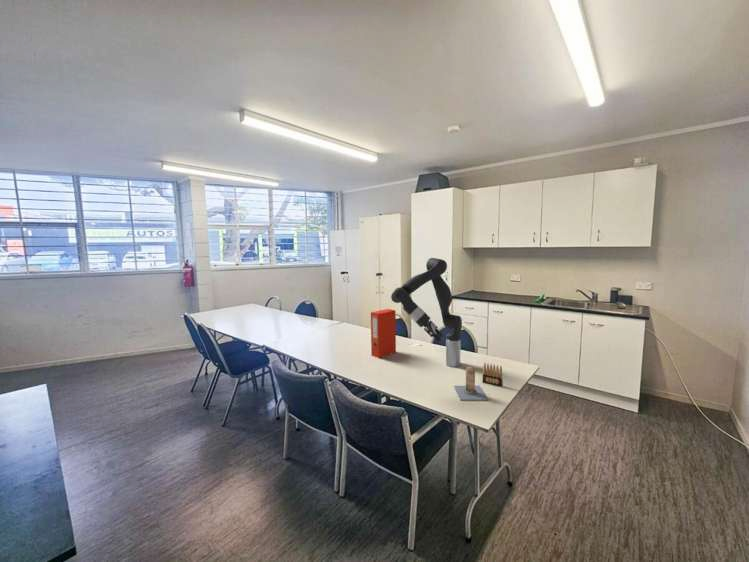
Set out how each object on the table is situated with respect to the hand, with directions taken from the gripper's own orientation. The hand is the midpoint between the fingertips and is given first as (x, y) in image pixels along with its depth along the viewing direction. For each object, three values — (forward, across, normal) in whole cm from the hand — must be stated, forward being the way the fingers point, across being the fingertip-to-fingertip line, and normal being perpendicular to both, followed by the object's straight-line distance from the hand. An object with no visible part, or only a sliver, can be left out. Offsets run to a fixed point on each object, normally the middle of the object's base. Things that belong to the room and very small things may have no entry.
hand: (440, 338), depth 172 cm
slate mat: (+31, -2, +9) cm, 33 cm away
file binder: (-12, +46, +53) cm, 71 cm away
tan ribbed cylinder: (+31, -2, +9) cm, 32 cm away
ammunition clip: (+40, +13, +1) cm, 42 cm away
